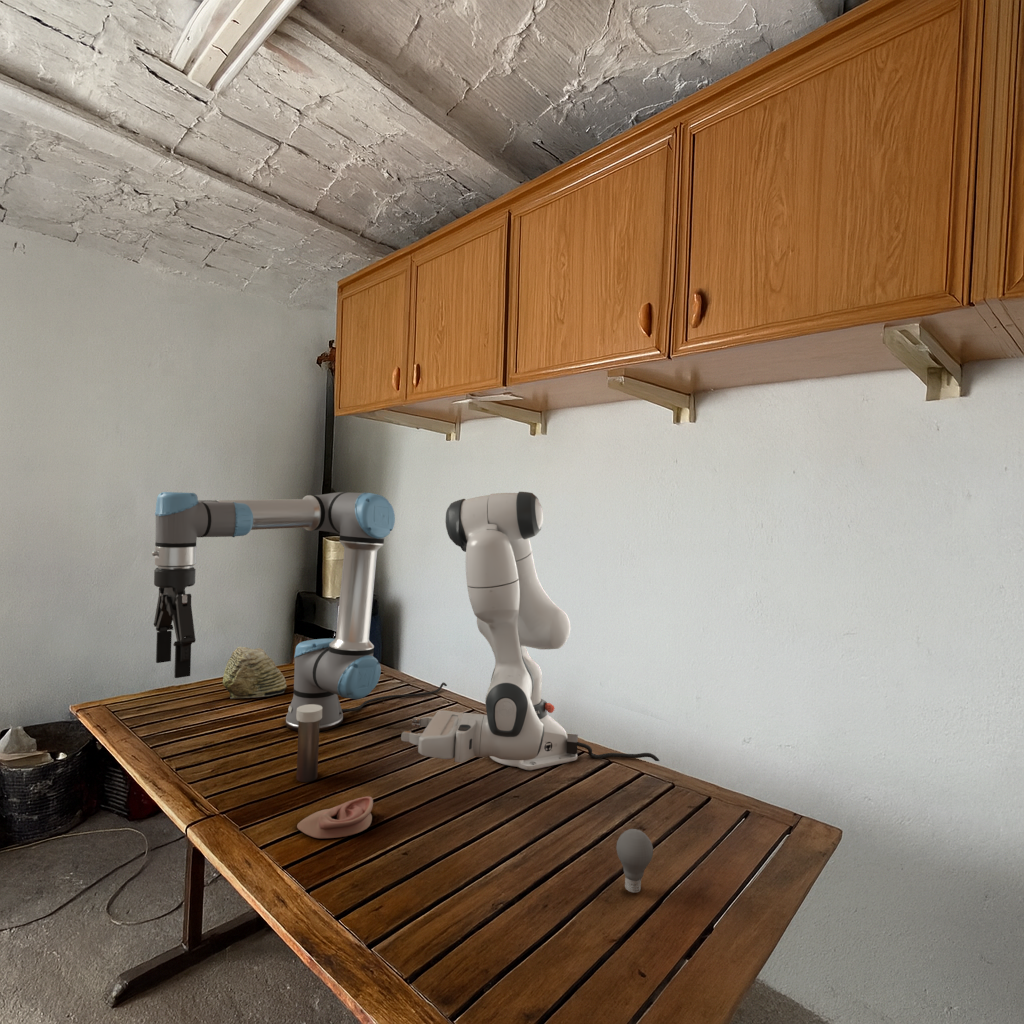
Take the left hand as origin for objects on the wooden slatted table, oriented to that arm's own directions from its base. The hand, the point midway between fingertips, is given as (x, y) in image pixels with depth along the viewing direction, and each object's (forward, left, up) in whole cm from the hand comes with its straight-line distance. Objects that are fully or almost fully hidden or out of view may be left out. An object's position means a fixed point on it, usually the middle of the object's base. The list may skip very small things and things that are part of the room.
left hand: (172, 669), depth 131 cm
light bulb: (-37, +88, -26) cm, 99 cm away
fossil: (-46, -49, -26) cm, 72 cm away
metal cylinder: (-24, +13, -26) cm, 38 cm away
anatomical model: (-16, +35, -26) cm, 47 cm away
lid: (-24, +13, -11) cm, 30 cm away
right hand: (-36, +32, -13) cm, 50 cm away
